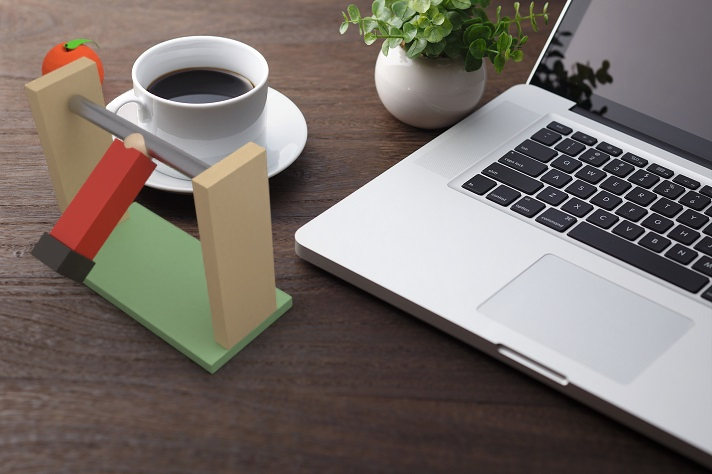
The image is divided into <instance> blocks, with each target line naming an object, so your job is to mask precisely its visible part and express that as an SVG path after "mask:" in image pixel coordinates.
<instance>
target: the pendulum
mask: <svg viewBox="0 0 712 474" xmlns="http://www.w3.org/2000/svg"><path fill="white" fill-rule="evenodd" d="M68 107H69V110H70V111H71V112H73V113H75V114H76V115H78V116H80V117H82V118H83V119H85V120H87V121H89V122H91V123H92V124H94V125H96V126H98V127H99V128H101V129H103V130H105V131H106V132H108V133H110V134H112V136H114V137H115V138H114V139H113V143H112V144H111V145H110V147H109V148H108V150H107V151H106V153H105V154H104V156H103V157H102V158H101V160H100V161H99V163H98V164H97V166H96V167H95V168H94V170H93V171H92V173H91V174H90V176H89V177H88V179H87V180H86V181H85V183H84V184H83V186H82V187H81V189H80V190H79V191H78V193H77V194H76V196H75V197H74V199H73V200H72V202H71V203H70V204H69V206H68V207H67V209H66V210H65V212H64V213H63V214H62V215H61V216H60V217H59V219H58V220H57V221H56V223H55V224H54V226H53V227H52V229H51V230H50V232H49V233H48V232H47V231H44V232H43V233H42V235H41V236H40V237H39V239H38V241H37V242H36V243H35V245H34V246H33V248H32V249H31V251H30V252H29V254H30V255H31V256H32V257H34V258H35V259H37V260H38V261H40V262H41V263H42V264H43V265H45V266H46V267H48V268H49V269H50V270H52V271H54V272H55V273H57V274H58V275H61V276H63V277H65V278H67V279H69V280H71V281H73V282H75V283H77V284H79V285H83V284H84V283H83V282H84V280H85V279H86V277H87V276H88V274H89V273H90V271H91V270H92V268H93V267H94V265H95V264H96V263H95V262H94V261H93V259H94V258H95V256H96V255H97V253H98V252H99V250H100V249H101V247H102V246H103V244H104V243H105V241H106V240H107V239H108V237H109V236H110V234H111V233H112V231H113V230H114V228H115V227H116V225H117V224H118V222H119V221H120V220H121V218H122V217H123V215H124V214H125V212H126V211H127V209H128V208H129V206H130V205H131V204H132V203H134V202H135V199H136V198H137V196H138V195H139V193H141V190H142V189H143V188H144V186H145V184H146V183H147V181H149V179H150V177H151V176H152V174H153V173H154V171H155V170H156V168H157V167H158V164H157V163H156V162H154V161H153V159H154V160H157V161H158V162H160V163H161V164H163V165H165V166H167V167H168V168H170V169H173V170H174V171H176V172H177V173H179V174H181V175H183V176H184V177H186V178H188V179H189V180H192V179H193V178H195V177H196V176H198V175H199V174H201V173H202V172H204V171H205V170H207V169H208V168H210V167H212V166H213V165H210V164H209V163H206V162H204V160H201V159H199V158H197V157H195V156H193V155H192V154H191V153H188V152H186V151H184V150H183V149H181V148H179V147H177V146H176V145H173V144H171V143H170V142H168V141H166V140H165V139H162V138H161V137H159V136H158V135H155V134H153V133H151V132H149V131H147V130H146V129H144V128H142V127H141V126H138V125H137V124H135V123H133V122H131V121H129V120H128V119H126V118H125V117H122V116H121V115H119V114H116V113H114V112H113V111H111V110H109V109H107V107H106V108H104V107H102V106H100V105H98V104H96V103H95V102H93V101H91V100H89V99H87V98H85V97H84V96H82V95H79V94H78V95H74V96H72V97H71V99H70V100H69V103H68Z"/></svg>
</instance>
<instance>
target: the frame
mask: <svg viewBox="0 0 712 474" xmlns="http://www.w3.org/2000/svg"><path fill="white" fill-rule="evenodd" d="M23 87H24V90H25V94H26V98H27V101H28V104H29V108H30V112H31V115H32V118H33V121H34V125H35V129H36V132H37V135H38V139H39V142H40V146H41V149H42V153H43V156H44V159H45V163H46V167H47V170H48V173H49V177H50V181H51V183H52V187H53V191H54V195H55V197H56V201H57V204H58V207H59V211H60V214H61V216H62V214H63V213H64V212H65V210H66V209H67V207H68V206H69V204H70V203H71V202H72V200H73V199H74V197H75V196H76V194H77V193H78V191H79V190H80V189H81V187H82V186H83V184H84V183H85V181H86V180H87V179H88V177H89V176H90V174H91V173H92V171H93V170H94V168H95V167H96V166H97V164H98V163H99V161H100V160H101V158H102V157H103V156H104V154H105V153H106V151H107V150H108V148H109V147H110V145H111V144H112V143H113V141H114V139H113V135H112V134H110V133H108V132H106V131H105V130H103V129H101V128H99V127H98V126H96V125H94V124H92V123H91V122H89V121H87V120H85V119H83V118H82V117H80V116H78V115H76V114H75V113H73V112H71V111H70V110H69V107H68V103H69V100H70V99H71V97H72V96H74V95H78V94H79V95H82V96H84V97H85V98H87V99H89V100H91V101H93V102H95V103H96V104H98V105H100V106H102V107H104V108H106V109H107V107H106V102H105V101H106V100H105V98H104V93H103V88H102V86H101V83H100V78H99V74H98V69H97V65H96V62H94V61H92V60H90V59H88V58H86V57H82V58H80V59H77V60H75V61H73V62H71V63H69V64H67V65H65V66H63V67H61V68H58V69H56V70H54V71H52V72H50V73H48V74H46V75H44V76H42V75H41V76H40V77H38V78H35V79H33V80H31V81H29V82H27V83H25V84H23ZM267 156H268V155H267V149H266V148H265V147H263V146H260V145H259V144H258V143H255V142H253V141H252V140H251V141H249V142H247V143H245V144H244V145H242V146H241V147H240V148H238V149H236V150H235V151H234V152H232V153H230V154H229V155H227V156H225V157H224V158H222V159H221V160H219V161H218V162H216V163H214V164H213V165H211V166H212V167H210V168H208V169H207V170H205V171H204V172H202V173H201V174H199V175H198V176H196V177H195V178H193V179H191V187H192V192H193V199H194V206H195V213H196V219H197V220H196V221H197V227H198V233H199V239H197V238H196V237H194V236H193V235H191V234H189V233H188V232H186V231H184V230H183V229H181V228H179V227H178V226H176V225H175V224H173V223H171V222H169V221H168V220H166V219H164V218H163V217H161V216H160V215H158V214H157V213H154V212H153V211H151V210H150V209H149V208H147V207H145V206H143V205H141V204H140V203H138V202H136V201H133V202H132V203H131V205H130V206H129V208H128V209H127V211H126V212H125V214H124V215H123V217H122V218H121V220H120V221H119V222H118V224H117V225H116V227H115V228H114V230H113V231H112V233H111V234H110V236H109V237H108V239H107V240H106V241H105V243H104V244H103V246H102V247H101V249H100V250H99V252H98V253H97V255H96V256H95V258H94V259H93V261H94V262H95V263H96V264H95V265H94V267H93V268H92V270H91V271H90V273H89V274H88V276H87V277H86V279H85V280H84V282H83V283H82V284H84V285H85V286H87V287H88V288H90V289H91V290H92V291H93V292H95V293H97V294H98V295H99V296H101V297H102V298H104V299H105V300H106V301H108V302H109V303H111V304H112V305H114V306H115V307H116V308H118V309H119V310H120V311H122V312H124V313H125V314H126V315H127V316H129V317H130V318H132V319H134V321H136V322H137V323H139V324H140V325H141V326H143V327H144V328H146V329H147V330H149V331H151V332H152V333H153V334H155V335H156V336H158V337H159V339H160V338H161V339H162V340H163V341H165V342H166V343H167V344H169V345H170V346H171V347H173V348H175V349H176V350H177V351H179V352H180V353H182V354H183V355H184V356H185V357H187V358H189V359H190V360H192V361H193V362H194V363H196V364H197V365H199V366H200V367H202V368H203V369H204V370H205V371H207V372H209V373H210V374H212V375H213V374H215V373H216V372H217V371H218V370H219V369H221V368H223V366H224V365H226V363H228V362H229V361H230V360H231V359H232V358H233V357H235V356H236V355H237V354H238V353H240V351H241V350H243V349H244V348H245V347H247V346H248V345H249V344H250V343H251V342H253V341H254V340H255V339H256V338H257V337H258V336H259V335H261V334H262V333H263V332H264V331H265V330H266V329H267V328H269V327H270V326H271V325H272V324H274V322H276V321H277V320H279V318H280V317H281V316H283V315H284V314H285V313H286V312H287V311H289V310H290V309H291V308H292V307H293V297H292V296H291V295H290V294H288V293H287V292H284V291H283V290H281V289H280V288H278V287H276V274H275V273H276V272H275V260H274V246H273V245H274V243H273V231H272V230H273V229H272V215H271V214H272V213H271V200H270V199H271V198H270V184H269V172H268V157H267Z"/></svg>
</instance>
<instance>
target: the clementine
mask: <svg viewBox="0 0 712 474" xmlns="http://www.w3.org/2000/svg"><path fill="white" fill-rule="evenodd" d="M87 42H88V43H93V44H94V45H95V46H96V47H97V48H98V49H99V50H100V49H101V48H100V47H99V45H98V44H97V43H96V42H95V41H93V40H90V39H84V38H78V39H71V40H70V41H64V42H61V43H59V44H56V45H55V46H53V47H52V48H51V49H49V50H48V52H47V53H46V54H45V56H44V58H43V61H42V65H41V68H40V69H41V77H42V76H44V75H46V74H48V73H50V72H52V71H54V70H56V69H58V68H61V67H63V66H65V65H67V64H69V63H71V62H73V61H75V60H77V59H80V58H82V57H86V58H88V59H90V60H92V61H94V62H96V65H97V69H98V74H99V78H100V83H101V87H102V86H103V82H104V78H105V68H104V65H103V63H102V60H101V57H99V56H98V54H97V53H96V51H94V50H93V49H92V48H90V47H89V46H88V45H86V44H84V43H87Z"/></svg>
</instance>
